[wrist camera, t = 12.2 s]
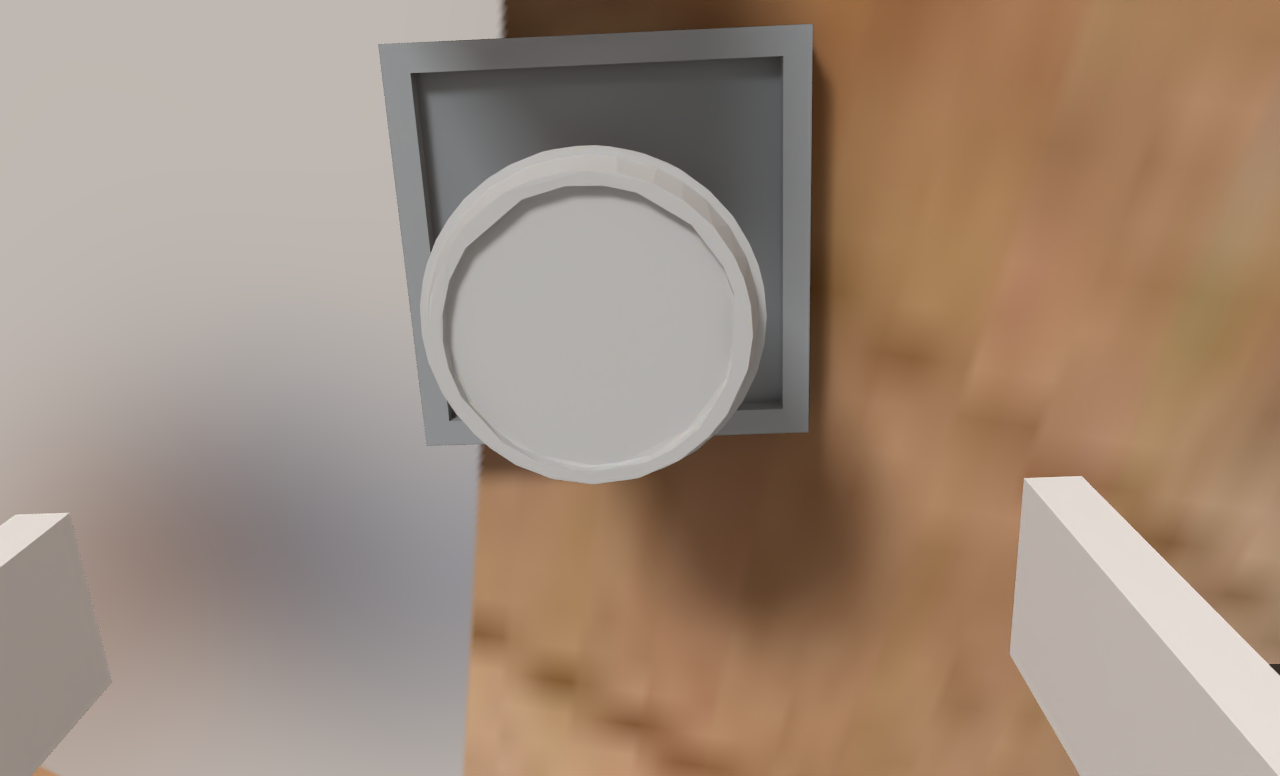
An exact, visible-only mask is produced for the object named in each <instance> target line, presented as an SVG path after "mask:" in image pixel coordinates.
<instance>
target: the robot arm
mask: <svg viewBox="0 0 1280 776" xmlns="http://www.w3.org/2000/svg"><path fill="white" fill-rule="evenodd" d="M1010 656H1011V657H1012V659H1013V661H1014V663H1015V664H1016V666H1017V668H1018V669H1019V671H1020V673H1021V675H1022V676H1023V678H1024V680H1025V681H1026V683H1027V685H1028V687H1029V688H1030V690H1031V692H1032V694H1033V695H1034V697H1035V699H1036V700H1037V702H1038V704H1039V706H1040V707H1041V709H1042V711H1043V712H1044V714H1045V716H1046V718H1047V719H1048V721H1049V723H1050V724H1051V726H1052V728H1053V730H1054V731H1055V733H1056V735H1057V737H1058V738H1059V740H1060V742H1061V743H1062V745H1063V747H1064V749H1065V750H1066V752H1067V754H1068V755H1069V757H1070V759H1071V761H1072V762H1073V764H1074V766H1075V767H1076V769H1077V771H1078V773H1079V774H1080V776H1280V664H1268V663H1267V662H1266V661H1265V660H1264V659H1263V658H1262V657H1261V656H1260V655H1259V654H1258V653H1257V652H1256V651H1255V650H1254V649H1253V648H1252V647H1251V646H1250V645H1249V644H1248V643H1247V642H1246V641H1245V640H1244V639H1243V638H1242V637H1241V636H1240V635H1239V634H1238V633H1237V632H1236V631H1235V630H1234V629H1233V628H1232V627H1231V626H1230V625H1229V624H1228V623H1227V622H1226V621H1225V620H1224V619H1223V618H1222V617H1221V616H1220V615H1219V614H1218V613H1217V612H1216V611H1215V610H1214V609H1213V608H1212V607H1211V606H1210V605H1209V604H1208V603H1207V602H1206V601H1205V600H1204V599H1203V598H1202V597H1201V596H1200V595H1199V594H1198V593H1197V592H1196V591H1195V590H1194V589H1193V588H1192V587H1191V586H1190V585H1189V584H1188V583H1187V582H1186V581H1185V580H1184V579H1183V578H1182V577H1181V576H1180V575H1179V574H1178V573H1177V572H1176V571H1175V570H1174V569H1173V568H1172V567H1171V566H1170V565H1169V564H1168V563H1167V562H1166V561H1165V560H1164V559H1163V558H1162V557H1161V556H1160V555H1159V554H1158V553H1157V552H1156V551H1155V550H1154V549H1153V548H1152V547H1151V546H1150V545H1149V544H1148V543H1147V542H1146V541H1145V540H1144V539H1143V537H1142V536H1141V535H1140V534H1139V533H1138V532H1137V531H1136V530H1135V529H1134V528H1133V527H1132V526H1131V525H1130V524H1129V523H1128V522H1127V521H1126V520H1125V519H1124V518H1123V517H1122V516H1121V515H1120V514H1119V513H1118V512H1117V511H1116V510H1115V509H1114V508H1113V507H1112V506H1111V505H1110V504H1109V503H1108V502H1107V501H1106V500H1105V499H1104V498H1103V497H1102V496H1101V495H1100V494H1099V493H1098V492H1097V491H1096V490H1095V489H1094V488H1093V487H1092V486H1091V485H1090V484H1089V483H1088V482H1087V481H1086V480H1085V479H1084V478H1083V477H1082V476H1072V477H1045V478H1024V486H1023V498H1022V510H1021V523H1020V535H1019V547H1018V560H1017V572H1016V584H1015V597H1014V609H1013V621H1012V634H1011V646H1010ZM111 682H112V680H111V676H110V672H109V668H108V664H107V660H106V656H105V652H104V648H103V644H102V640H101V636H100V632H99V628H98V624H97V620H96V616H95V612H94V608H93V604H92V600H91V596H90V592H89V588H88V584H87V580H86V576H85V572H84V569H83V565H82V560H81V556H80V553H79V549H78V545H77V541H76V537H75V533H74V529H73V525H72V521H71V517H70V513H51V514H23V515H15V516H13V517H12V518H10V519H9V520H8V521H6V522H5V523H3V524H2V525H1V526H0V776H32V774H33V773H34V772H35V771H36V770H37V769H38V767H39V766H40V765H41V764H42V763H43V762H44V761H45V759H46V758H47V757H48V756H49V755H50V753H51V752H52V751H53V750H54V749H55V748H56V747H57V745H58V744H59V743H60V742H61V741H62V740H63V738H64V737H65V736H66V735H67V734H68V733H69V732H70V730H71V729H72V728H73V727H74V726H75V725H76V723H77V722H78V721H79V720H80V719H81V718H82V716H83V715H84V714H85V713H86V712H87V711H88V710H89V708H90V707H91V706H92V705H93V704H94V703H95V701H96V700H97V699H98V698H99V697H100V696H101V694H102V693H103V692H104V691H105V690H106V689H107V687H108V686H109V685H110V684H111Z"/></svg>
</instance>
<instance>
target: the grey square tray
mask: <svg viewBox="0 0 1280 776" xmlns="http://www.w3.org/2000/svg"><path fill="white" fill-rule="evenodd" d="M812 40H813V24H800V25H779V26H758V27H736V28H715V29H694V30H672V31H651V32H630V33H608V34H587V35H566V36H544V37H523V38H502V39H481V40H459V41H441V42H440V41H439V42H417V43H397V44H396V43H395V44H379V45H378V46H379V54H380V63H381V71H382V79H383V87H384V96H385V103H386V112H387V121H388V129H389V137H390V145H391V153H392V161H393V170H394V178H395V187H396V195H397V203H398V212H399V220H400V228H401V236H402V245H403V253H404V261H405V269H406V278H407V286H408V294H409V303H410V311H411V319H412V327H413V336H414V344H415V352H416V361H417V368H418V377H419V386H420V394H421V402H422V410H423V418H424V426H425V435H426V444H427V446H438V445H465V444H485V443H484V442H483V441H481V440H480V439H479V438H478V437H477V436H476V435H475V434H474V433H473V432H472V431H471V430H470V429H469V427H468V426H467V425H466V424H465V423H464V422H463V421H462V420H461V419H460V418H459V417H458V415H457V414H456V413H455V411H454V410H453V408H452V407H451V405H450V404H449V403H448V401H447V400H446V398H445V397H444V395H443V394H442V392H441V390H440V387H439V385H438V383H437V381H436V378H435V376H434V374H433V372H432V369H431V367H430V365H429V363H428V359H427V355H426V351H425V346H424V342H423V338H422V330H421V315H420V300H421V292H422V283H423V278H424V274H425V269H426V265H427V262H428V260H429V257H430V254H431V251H432V249H433V246H434V243H435V241H436V239H437V237H438V236H439V234H440V232H441V231H442V229H443V227H444V226H445V224H446V222H447V220H448V219H449V217H450V216H451V215H452V214H453V212H454V211H455V210H456V209H457V207H458V206H459V205H460V203H461V202H462V201H463V200H464V198H466V197H467V196H468V195H469V194H470V193H471V192H473V191H474V190H475V189H476V188H477V187H478V186H479V185H481V184H482V183H483V182H484V181H485V180H486V179H488V178H489V177H491V176H492V175H494V174H496V173H497V172H499V171H500V170H502V169H504V168H505V167H507V166H508V165H510V164H513V163H515V162H518V161H520V160H523V159H525V158H528V157H530V156H533V155H535V154H538V153H540V152H543V151H548V150H552V149H559V148H566V147H573V146H587V145H600V146H610V147H616V148H622V149H627V150H633V151H636V152H640V153H644V154H646V155H649V156H652V157H654V158H657V159H659V160H662V161H665V162H667V163H669V164H671V165H673V166H675V167H677V168H679V169H681V170H682V171H683V172H685V173H686V174H688V175H689V176H690V177H692V178H693V179H694V180H696V181H697V182H699V183H700V184H701V185H703V186H704V187H705V188H707V189H708V190H709V191H710V192H711V193H712V194H713V195H714V196H715V197H716V198H717V199H718V200H719V202H720V203H721V204H722V205H723V206H724V207H725V208H726V209H727V210H728V211H729V212H730V213H731V214H732V216H733V217H734V218H735V220H736V222H737V223H738V225H739V227H740V228H741V230H742V232H743V233H744V235H745V237H746V238H747V240H748V242H749V244H750V246H751V248H752V251H753V253H754V256H755V258H756V260H757V263H758V265H759V269H760V273H761V277H762V281H763V285H764V292H765V303H766V314H767V321H766V332H765V343H764V348H763V351H762V355H761V359H760V363H759V367H758V371H757V373H756V375H755V378H754V380H753V382H752V384H751V386H750V388H749V390H748V392H747V394H746V396H745V398H744V400H743V402H742V403H741V405H740V406H739V407H738V409H737V410H736V411H735V413H734V414H733V415H732V417H731V418H730V419H729V421H728V422H727V423H726V425H725V426H724V427H723V428H722V429H721V430H720V431H718V432H717V433H716V434H715V435H743V434H771V433H799V432H808V423H809V328H810V232H811V136H812ZM715 435H714V436H715Z"/></svg>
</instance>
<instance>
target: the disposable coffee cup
mask: <svg viewBox="0 0 1280 776" xmlns="http://www.w3.org/2000/svg"><path fill="white" fill-rule="evenodd" d="M420 315H421V330H422V338H423V342H424V346H425V351H426V355H427V359H428V363H429V365H430V367H431V369H432V372H433V374H434V376H435V378H436V381H437V383H438V385H439V387H440V390H441V392H442V394H443V395H444V397H445V398H446V400H447V401H448V403H449V404H450V405H451V407H452V408H453V410H454V411H455V413H456V414H457V415H458V417H459V418H460V419H461V420H462V421H463V422H464V423H465V424H466V425H467V426H468V427H469V429H470V430H471V431H472V432H473V433H474V434H475V435H476V436H477V437H478V438H479V439H480V440H481V441H483V442H484V443H485V444H486V445H487V446H488V447H489V448H490V449H492V450H494V451H495V452H497V453H498V454H500V455H501V456H503V457H504V458H506V459H507V460H509V461H510V462H512V463H513V464H515V465H517V466H520V467H522V468H525V469H528V470H530V471H533V472H535V473H538V474H541V475H543V476H546V477H548V478H551V479H558V480H565V481H573V482H580V483H588V484H599V483H606V482H614V481H621V480H629V479H636V478H640V477H642V476H645V475H647V474H649V473H651V472H654V471H657V470H660V469H663V468H666V467H668V466H670V465H672V464H673V463H675V462H677V461H679V460H681V459H683V458H684V457H686V456H688V455H690V454H692V453H694V452H695V451H697V450H698V449H699V448H700V447H701V446H703V445H704V444H705V443H706V442H707V441H708V440H709V439H711V438H712V437H713V436H714V435H715V434H716V433H717V432H718V431H720V430H721V429H722V428H723V427H724V426H725V425H726V423H727V422H728V421H729V419H730V418H731V417H732V415H733V414H734V413H735V411H736V410H737V409H738V407H739V406H740V405H741V403H742V402H743V400H744V398H745V396H746V394H747V392H748V390H749V388H750V386H751V384H752V382H753V380H754V378H755V375H756V373H757V371H758V367H759V363H760V359H761V355H762V351H763V348H764V343H765V332H766V321H767V314H766V303H765V292H764V285H763V281H762V277H761V273H760V269H759V265H758V263H757V260H756V258H755V256H754V253H753V251H752V248H751V246H750V244H749V242H748V240H747V238H746V237H745V235H744V233H743V232H742V230H741V228H740V227H739V225H738V223H737V222H736V220H735V218H734V217H733V216H732V214H731V213H730V212H729V211H728V210H727V209H726V208H725V207H724V206H723V205H722V204H721V203H720V202H719V200H718V199H717V198H716V197H715V196H714V195H713V194H712V193H711V192H710V191H709V190H708V189H707V188H705V187H704V186H703V185H701V184H700V183H699V182H697V181H696V180H694V179H693V178H692V177H690V176H689V175H688V174H686V173H685V172H683V171H682V170H681V169H679V168H677V167H675V166H673V165H671V164H669V163H667V162H665V161H662V160H659V159H657V158H654V157H652V156H649V155H646V154H644V153H640V152H636V151H633V150H627V149H622V148H616V147H610V146H600V145H587V146H573V147H566V148H559V149H552V150H548V151H543V152H540V153H538V154H535V155H533V156H530V157H528V158H525V159H523V160H520V161H518V162H515V163H513V164H510V165H508V166H507V167H505V168H504V169H502V170H500V171H499V172H497V173H496V174H494V175H492V176H491V177H489V178H488V179H486V180H485V181H484V182H483V183H482V184H481V185H479V186H478V187H477V188H476V189H475V190H474V191H473V192H471V193H470V194H469V195H468V196H467V197H466V198H464V200H463V201H462V202H461V203H460V205H459V206H458V207H457V209H456V210H455V211H454V212H453V214H452V215H451V216H450V217H449V219H448V220H447V222H446V224H445V226H444V227H443V229H442V231H441V232H440V234H439V236H438V237H437V239H436V241H435V243H434V246H433V249H432V251H431V254H430V257H429V260H428V262H427V265H426V269H425V274H424V278H423V283H422V292H421V300H420Z"/></svg>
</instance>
